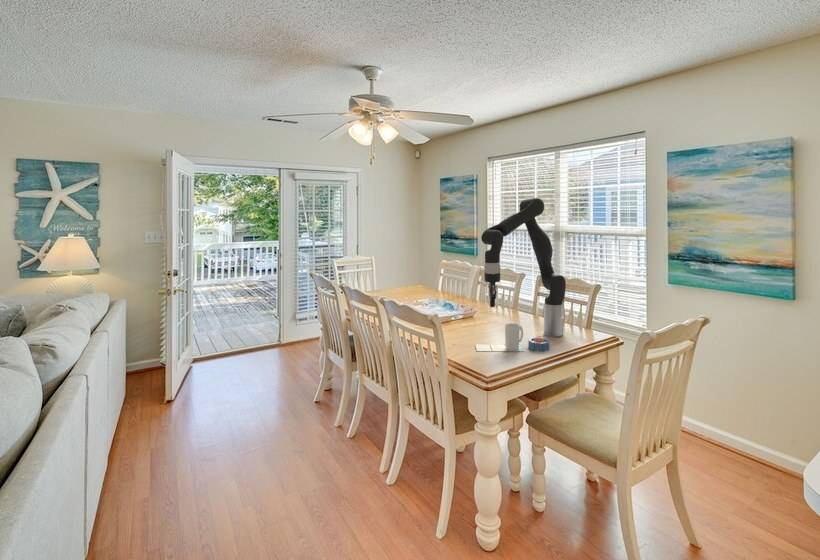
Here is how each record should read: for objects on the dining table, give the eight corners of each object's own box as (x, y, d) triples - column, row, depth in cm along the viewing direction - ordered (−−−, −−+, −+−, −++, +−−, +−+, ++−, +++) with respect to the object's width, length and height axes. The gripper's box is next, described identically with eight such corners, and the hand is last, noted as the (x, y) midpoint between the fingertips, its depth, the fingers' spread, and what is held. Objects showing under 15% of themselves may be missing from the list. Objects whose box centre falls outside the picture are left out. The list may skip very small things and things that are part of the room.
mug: (510, 351, 203) (511, 327, 201) (502, 347, 209) (502, 324, 207) (527, 348, 207) (527, 324, 206) (518, 344, 213) (518, 321, 212)
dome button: (539, 344, 212) (539, 334, 211) (547, 347, 207) (548, 337, 206) (529, 346, 210) (530, 336, 209) (538, 349, 204) (538, 339, 203)
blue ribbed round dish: (539, 343, 215) (539, 336, 214) (553, 349, 206) (553, 341, 205) (524, 346, 210) (524, 339, 210) (538, 352, 202) (538, 344, 201)
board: (519, 344, 214) (519, 344, 214) (523, 351, 204) (523, 351, 203) (474, 344, 216) (474, 344, 216) (476, 351, 205) (476, 351, 205)
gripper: (483, 270, 211) (483, 304, 213) (485, 274, 198) (486, 310, 200) (498, 269, 210) (498, 303, 213) (502, 273, 197) (502, 310, 200)
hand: (492, 306), depth 207 cm, fingers closed
